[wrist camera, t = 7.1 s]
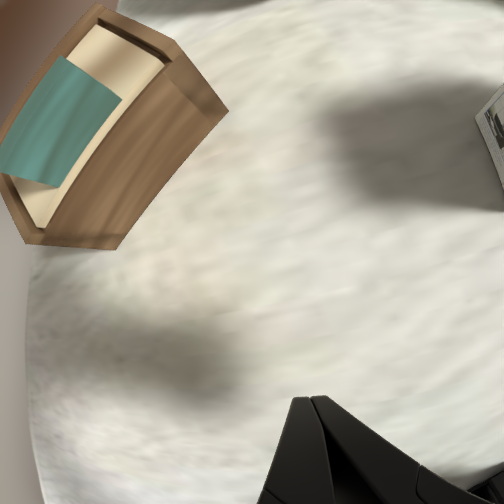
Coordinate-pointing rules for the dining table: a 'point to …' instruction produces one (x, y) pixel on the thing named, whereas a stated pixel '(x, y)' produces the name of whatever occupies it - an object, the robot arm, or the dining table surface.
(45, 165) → the lid
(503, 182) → the light bulb box
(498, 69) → the dining table surface
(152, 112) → the box
